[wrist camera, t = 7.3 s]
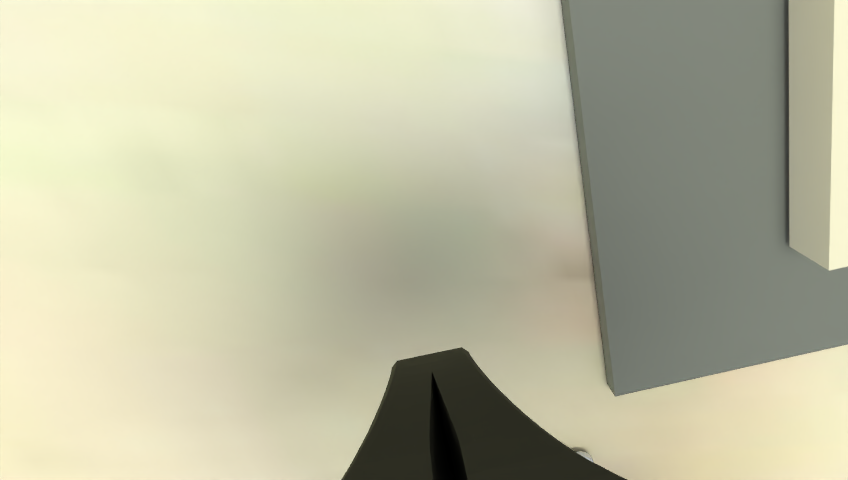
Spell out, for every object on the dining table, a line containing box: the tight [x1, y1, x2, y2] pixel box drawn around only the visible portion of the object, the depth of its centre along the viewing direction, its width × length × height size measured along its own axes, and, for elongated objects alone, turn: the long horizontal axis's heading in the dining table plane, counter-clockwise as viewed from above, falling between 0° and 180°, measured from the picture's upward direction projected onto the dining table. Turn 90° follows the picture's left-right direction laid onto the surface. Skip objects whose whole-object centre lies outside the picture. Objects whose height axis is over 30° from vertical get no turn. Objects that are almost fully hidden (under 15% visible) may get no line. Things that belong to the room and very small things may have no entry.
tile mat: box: [561, 0, 848, 396], centre depth 21 cm, size 17×16×1 cm
